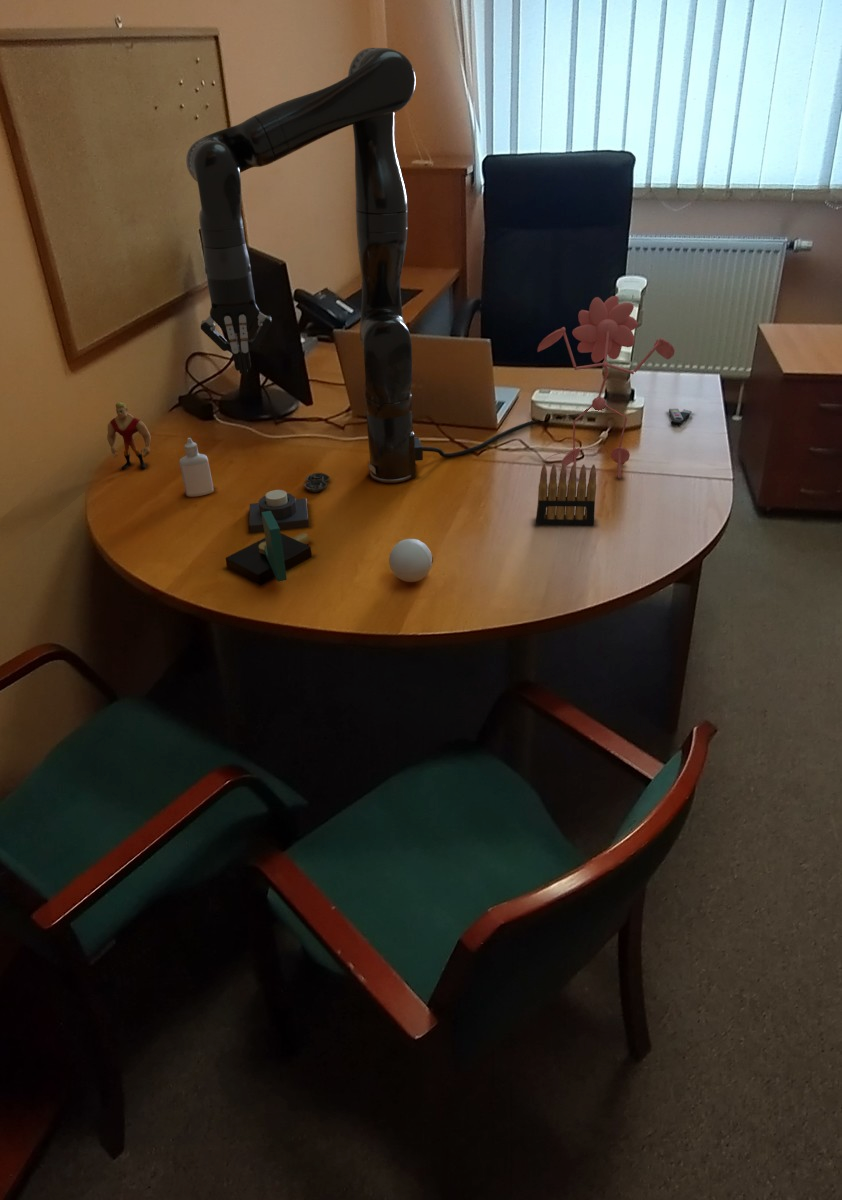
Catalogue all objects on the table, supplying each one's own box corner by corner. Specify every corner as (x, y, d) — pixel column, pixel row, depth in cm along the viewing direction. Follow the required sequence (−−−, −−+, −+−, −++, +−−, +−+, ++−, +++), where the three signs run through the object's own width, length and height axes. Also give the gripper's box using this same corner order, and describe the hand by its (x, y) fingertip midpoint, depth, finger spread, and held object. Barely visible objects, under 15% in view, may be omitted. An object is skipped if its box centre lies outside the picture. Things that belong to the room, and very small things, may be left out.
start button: (287, 496, 163) (286, 488, 162) (288, 506, 159) (286, 498, 158) (266, 498, 162) (265, 490, 161) (266, 508, 159) (265, 500, 158)
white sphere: (436, 588, 141) (435, 550, 137) (392, 592, 140) (390, 554, 136) (428, 557, 149) (427, 521, 145) (386, 561, 149) (384, 525, 145)
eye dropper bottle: (209, 498, 171) (198, 443, 164) (183, 497, 172) (171, 442, 165) (216, 488, 175) (206, 434, 168) (191, 487, 176) (180, 433, 169)
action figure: (110, 470, 184) (93, 404, 175) (116, 463, 187) (100, 398, 178) (153, 470, 183) (138, 404, 175) (158, 463, 186) (143, 398, 178)
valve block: (290, 535, 157) (288, 525, 156) (323, 550, 152) (322, 540, 151) (227, 568, 148) (225, 557, 147) (260, 585, 143) (258, 574, 142)
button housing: (307, 505, 167) (304, 487, 165) (309, 527, 160) (306, 508, 158) (251, 511, 166) (248, 493, 164) (250, 533, 159) (247, 514, 156)
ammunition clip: (536, 525, 158) (539, 466, 151) (535, 520, 159) (538, 462, 153) (593, 525, 157) (599, 466, 150) (593, 520, 159) (598, 462, 152)
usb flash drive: (680, 426, 194) (680, 422, 193) (657, 422, 196) (658, 418, 196) (692, 414, 200) (692, 410, 199) (670, 410, 202) (671, 406, 202)
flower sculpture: (661, 479, 172) (687, 303, 152) (535, 483, 172) (544, 308, 153) (644, 448, 185) (665, 282, 165) (526, 452, 185) (534, 287, 165)
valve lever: (257, 547, 149) (249, 497, 143) (274, 544, 150) (267, 494, 144) (273, 583, 139) (265, 530, 134) (291, 579, 140) (283, 526, 134)
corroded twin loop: (302, 494, 171) (302, 489, 171) (307, 477, 178) (306, 472, 177) (327, 493, 171) (327, 488, 170) (330, 476, 178) (330, 471, 177)
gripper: (267, 264, 147) (280, 362, 157) (190, 270, 146) (208, 368, 156) (268, 274, 141) (280, 375, 151) (187, 280, 140) (205, 382, 149)
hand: (243, 371), depth 153 cm, fingers closed
